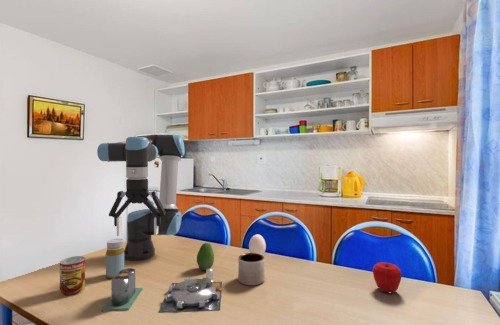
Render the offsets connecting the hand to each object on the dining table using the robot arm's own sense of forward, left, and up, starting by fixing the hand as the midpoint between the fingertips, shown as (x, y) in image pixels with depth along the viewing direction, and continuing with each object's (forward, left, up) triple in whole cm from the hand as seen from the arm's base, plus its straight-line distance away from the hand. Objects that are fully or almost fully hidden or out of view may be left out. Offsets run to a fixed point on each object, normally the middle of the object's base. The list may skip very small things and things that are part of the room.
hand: (137, 234), depth 100 cm
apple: (+5, +94, -22) cm, 97 cm away
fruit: (-19, +23, -22) cm, 37 cm away
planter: (-7, +43, -22) cm, 49 cm away
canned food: (-2, -25, -22) cm, 33 cm away
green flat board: (+5, -3, -22) cm, 22 cm away
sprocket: (+4, +21, -22) cm, 31 cm away
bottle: (-15, -15, -22) cm, 30 cm away
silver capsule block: (+5, -3, -21) cm, 22 cm away
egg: (-33, +48, -22) cm, 62 cm away
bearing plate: (+4, +21, -22) cm, 31 cm away
